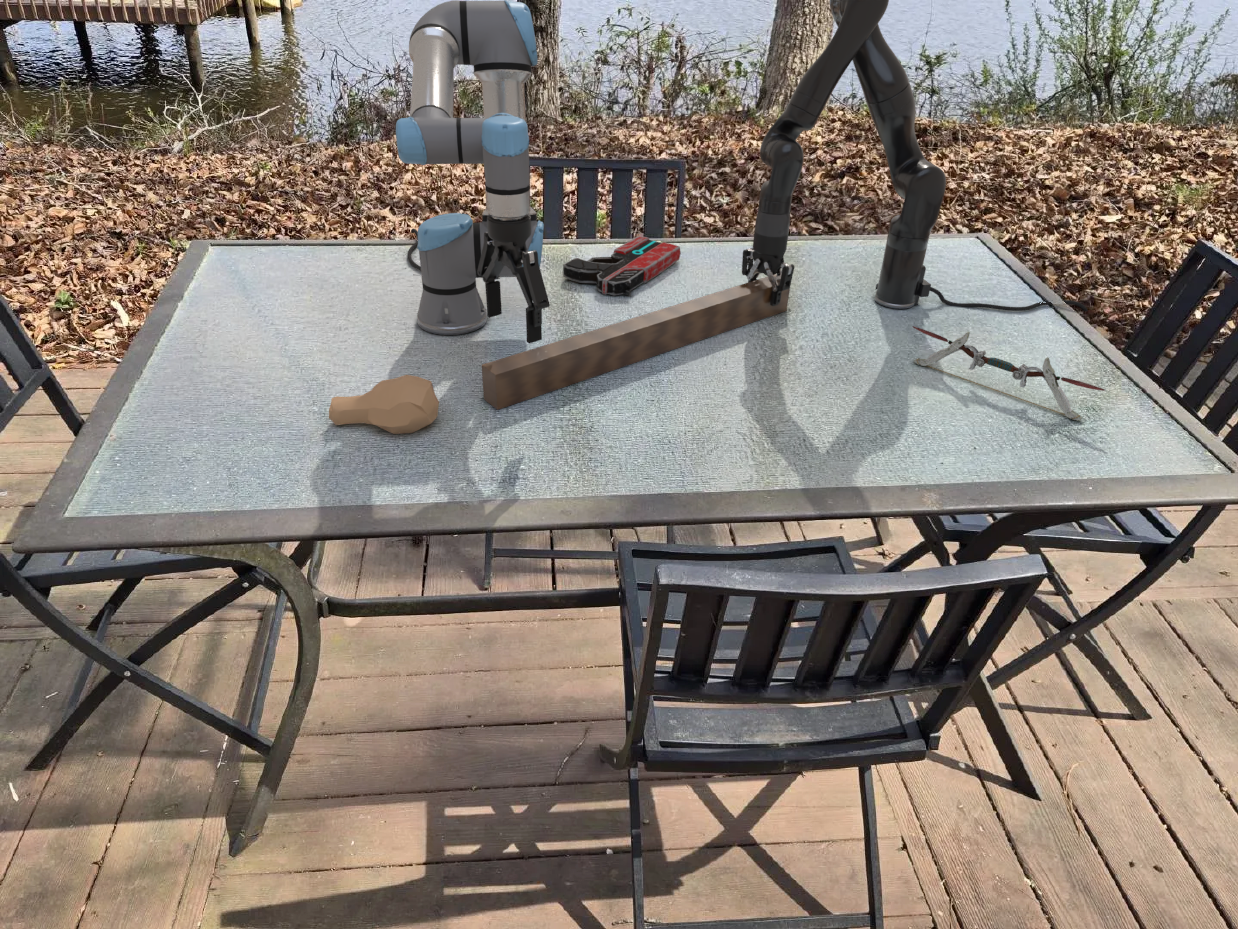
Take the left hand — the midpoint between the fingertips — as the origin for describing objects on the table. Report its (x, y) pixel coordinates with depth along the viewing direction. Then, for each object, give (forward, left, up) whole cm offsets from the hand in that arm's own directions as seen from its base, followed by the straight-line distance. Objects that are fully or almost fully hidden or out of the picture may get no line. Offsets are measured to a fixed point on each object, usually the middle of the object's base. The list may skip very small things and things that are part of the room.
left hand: (513, 327), depth 162 cm
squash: (-7, -24, -14) cm, 29 cm away
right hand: (+7, +67, -11) cm, 68 cm away
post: (+4, +34, -14) cm, 37 cm away
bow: (+62, +72, -14) cm, 96 cm away
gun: (-32, +60, -14) cm, 70 cm away
